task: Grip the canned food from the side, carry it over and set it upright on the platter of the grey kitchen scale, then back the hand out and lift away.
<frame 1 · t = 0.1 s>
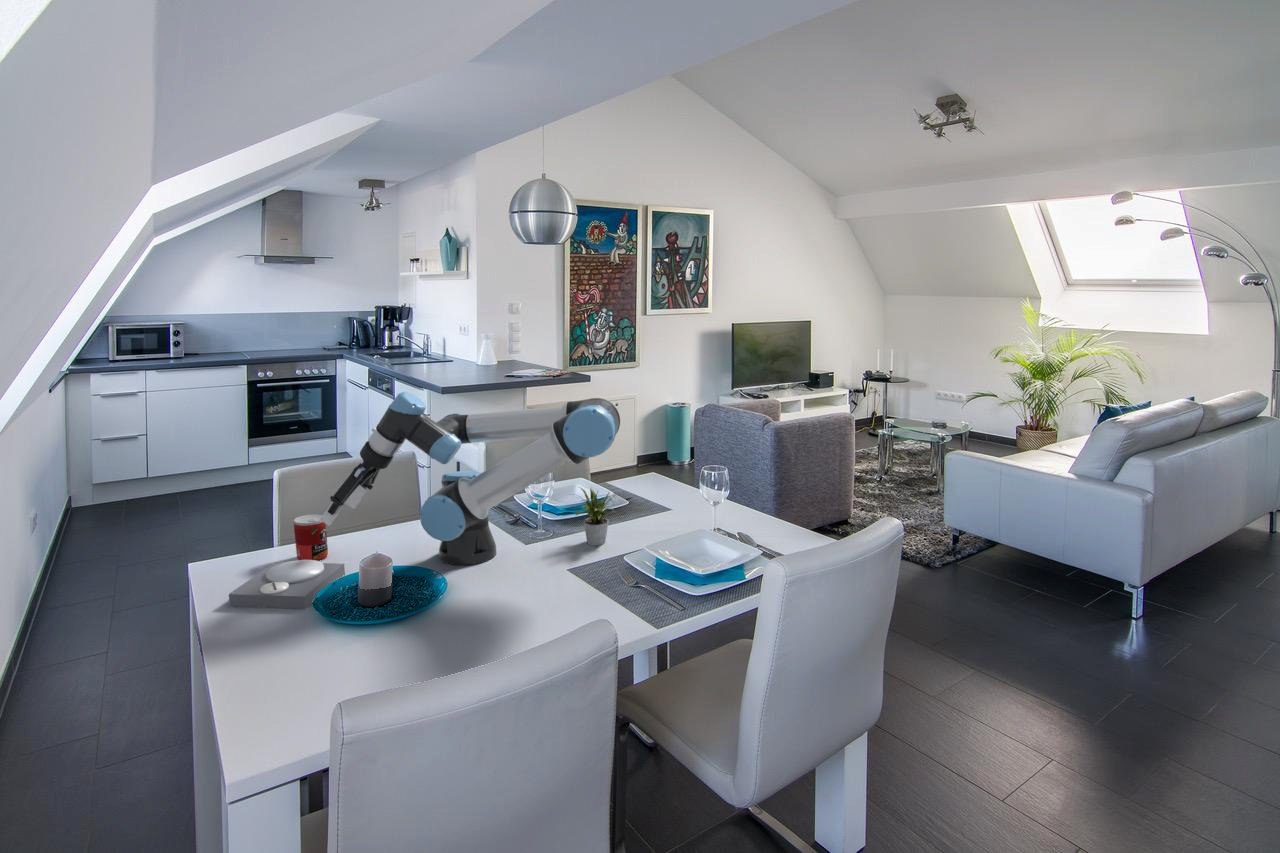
hand: (338, 514, 195), 15 cm above the table, tool tilted 35°, fingers open, 13 cm apart
canned food: (312, 558, 208), on the table
kitchen scale: (290, 589, 187), on the table
house plant: (591, 542, 220), on the table
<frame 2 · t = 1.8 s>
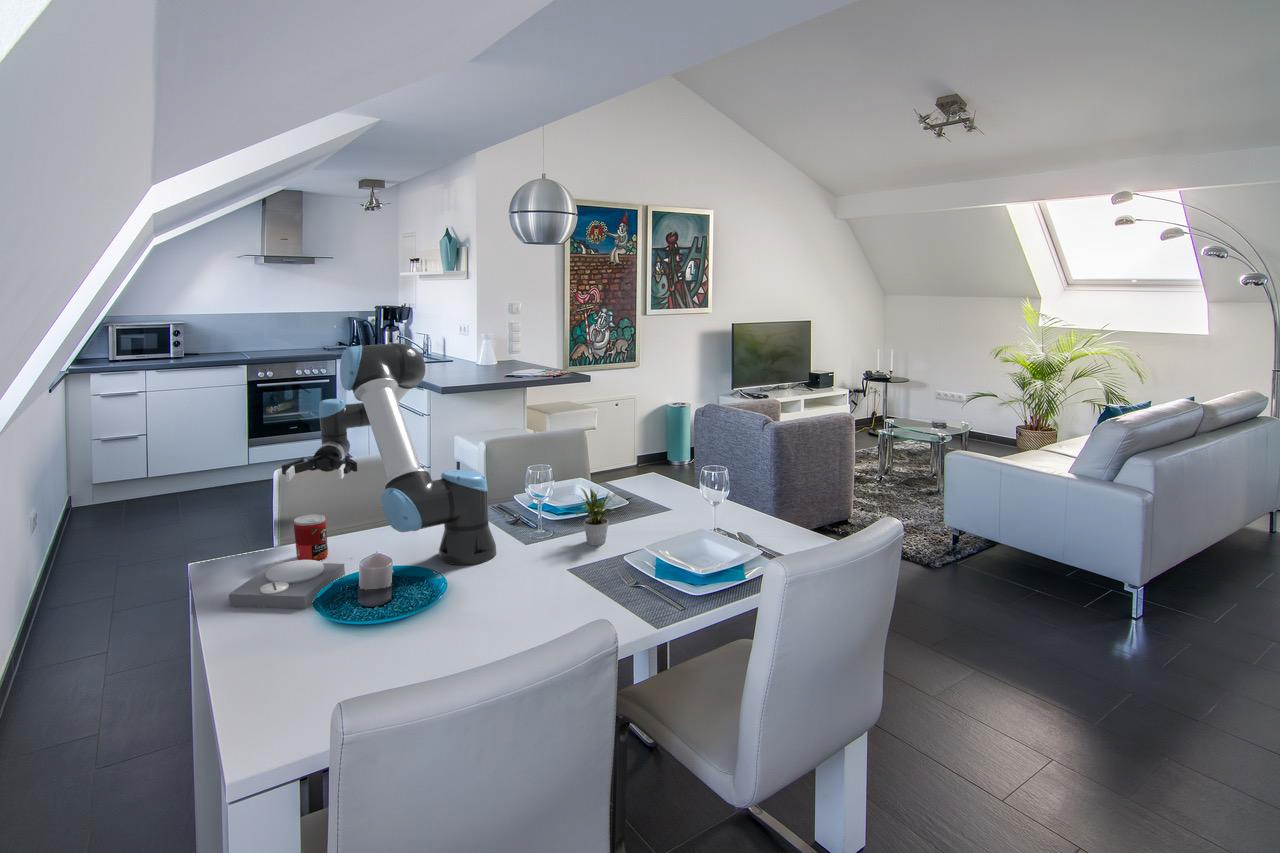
hand: (314, 475, 213), 20 cm above the table, tool horizontal, fingers open, 13 cm apart
nothing on the table moved.
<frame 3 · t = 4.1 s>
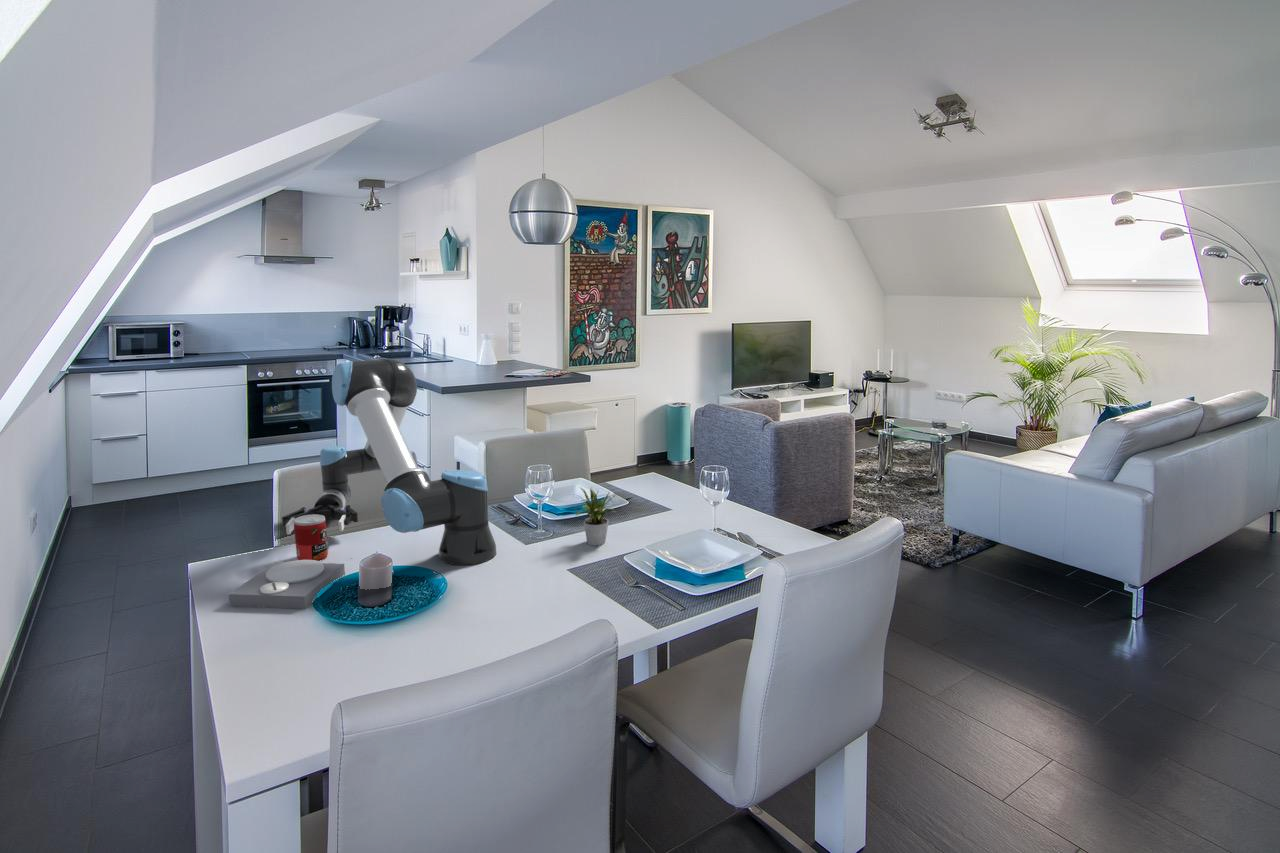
hand: (314, 528, 212), 6 cm above the table, tool horizontal, fingers open, 13 cm apart
nothing on the table moved.
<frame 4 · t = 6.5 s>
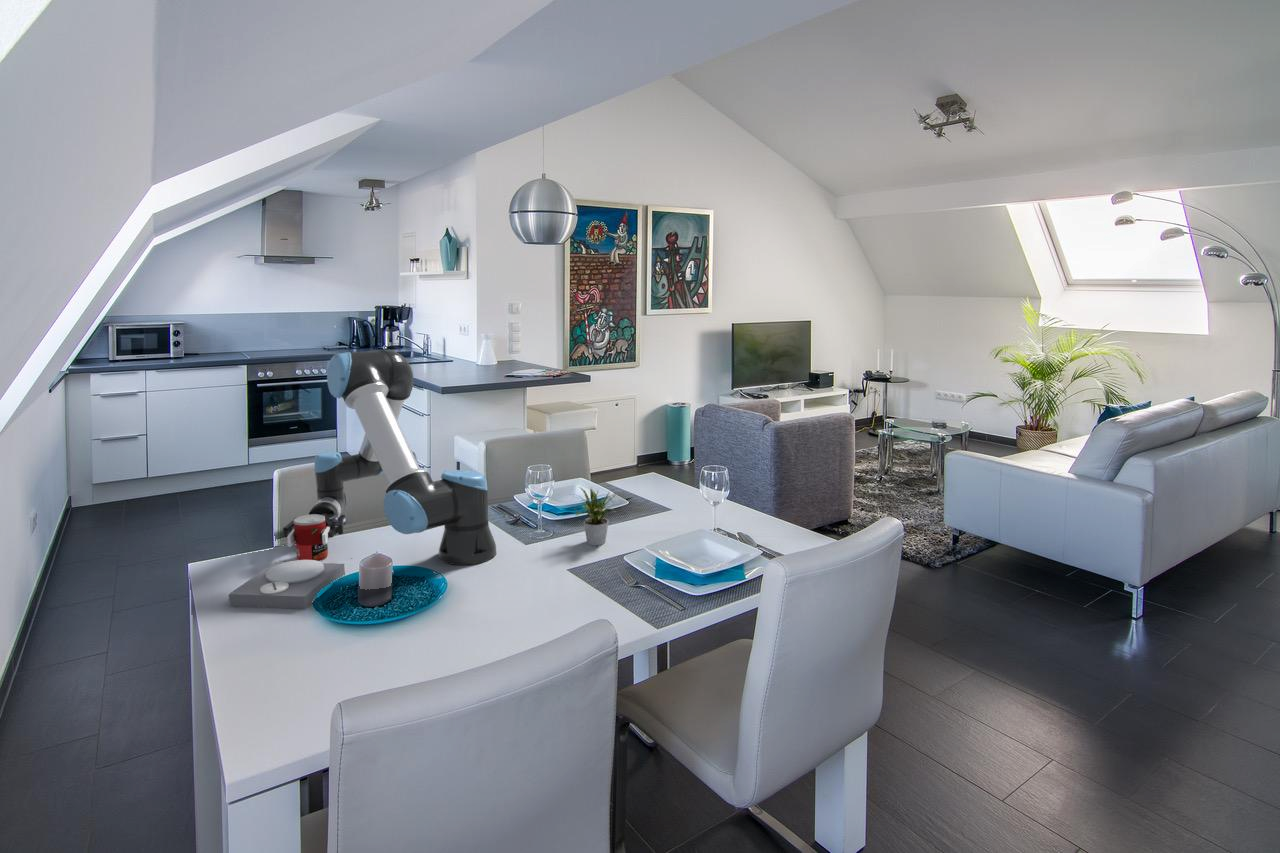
hand: (306, 540, 202), 7 cm above the table, tool horizontal, fingers closed on canned food, 8 cm apart
canned food: (312, 558, 208), on the table, touching gripper
everything else where it was.
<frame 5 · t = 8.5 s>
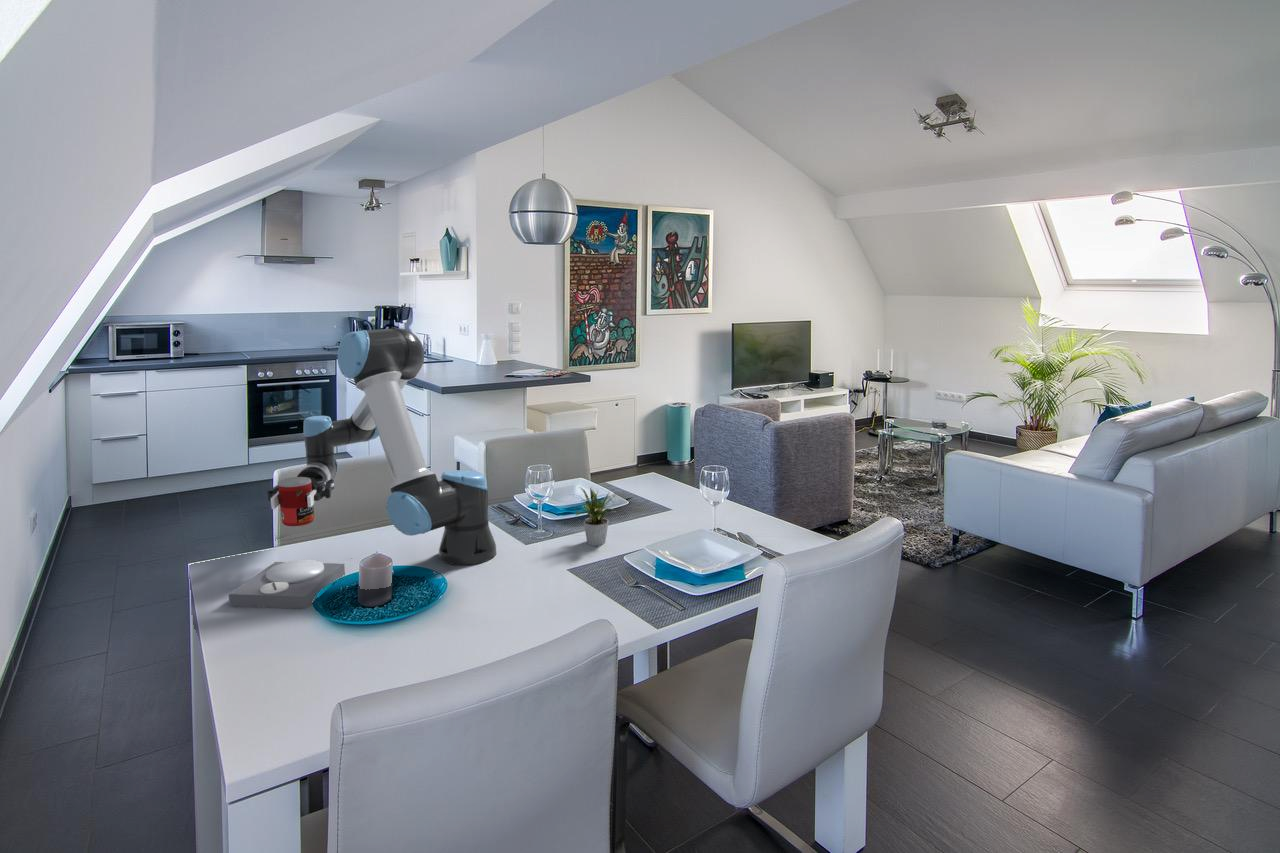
hand: (291, 502, 193), 19 cm above the table, tool horizontal, fingers closed on canned food, 8 cm apart
canned food: (298, 522, 199), point 12 cm above the table, touching gripper
everything else where it was.
when the fingers open (12 cm above the table, at t = 10.9 s): canned food drops 1 cm, resting on kitchen scale.
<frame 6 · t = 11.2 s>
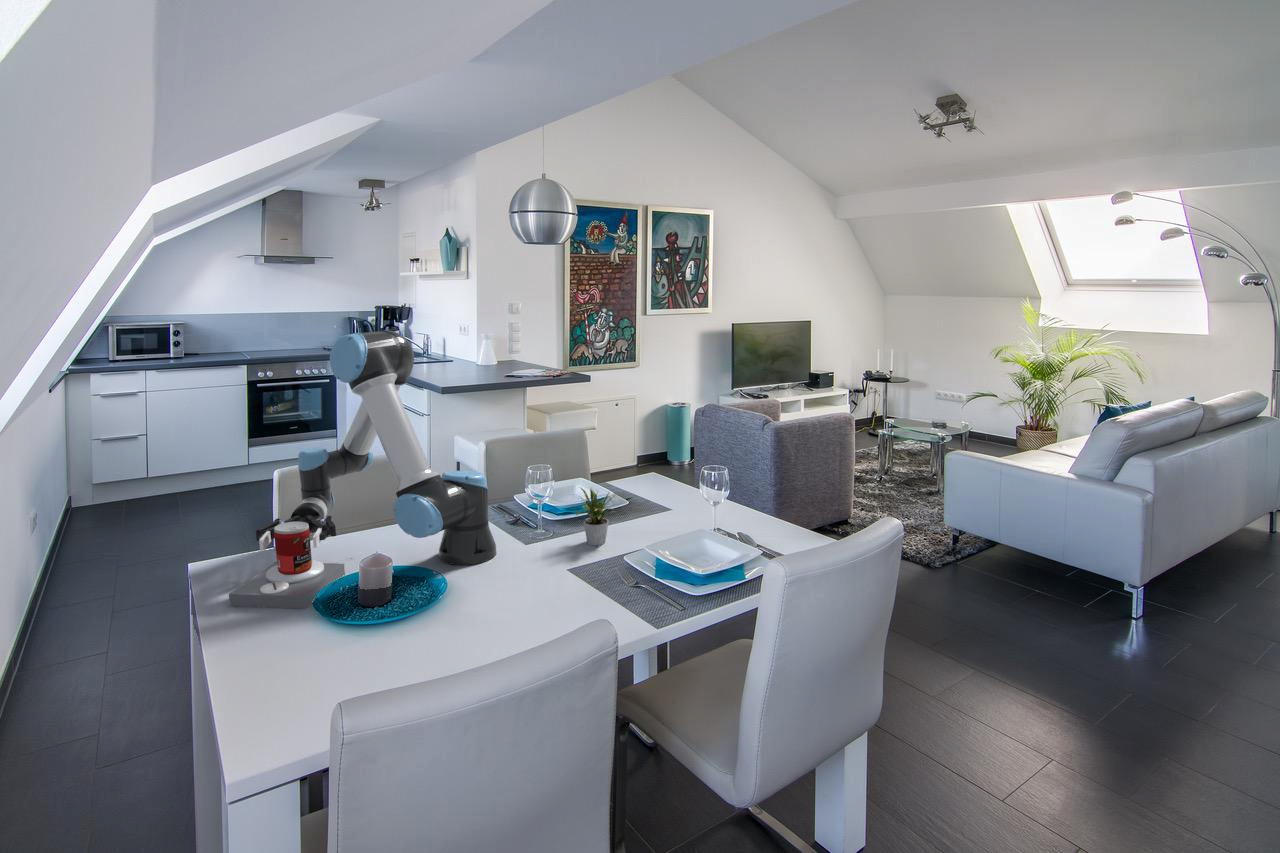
hand: (288, 543, 183), 12 cm above the table, tool horizontal, fingers open, 11 cm apart
canned food: (295, 570, 189), point 4 cm above the table, touching kitchen scale
everything else where it was.
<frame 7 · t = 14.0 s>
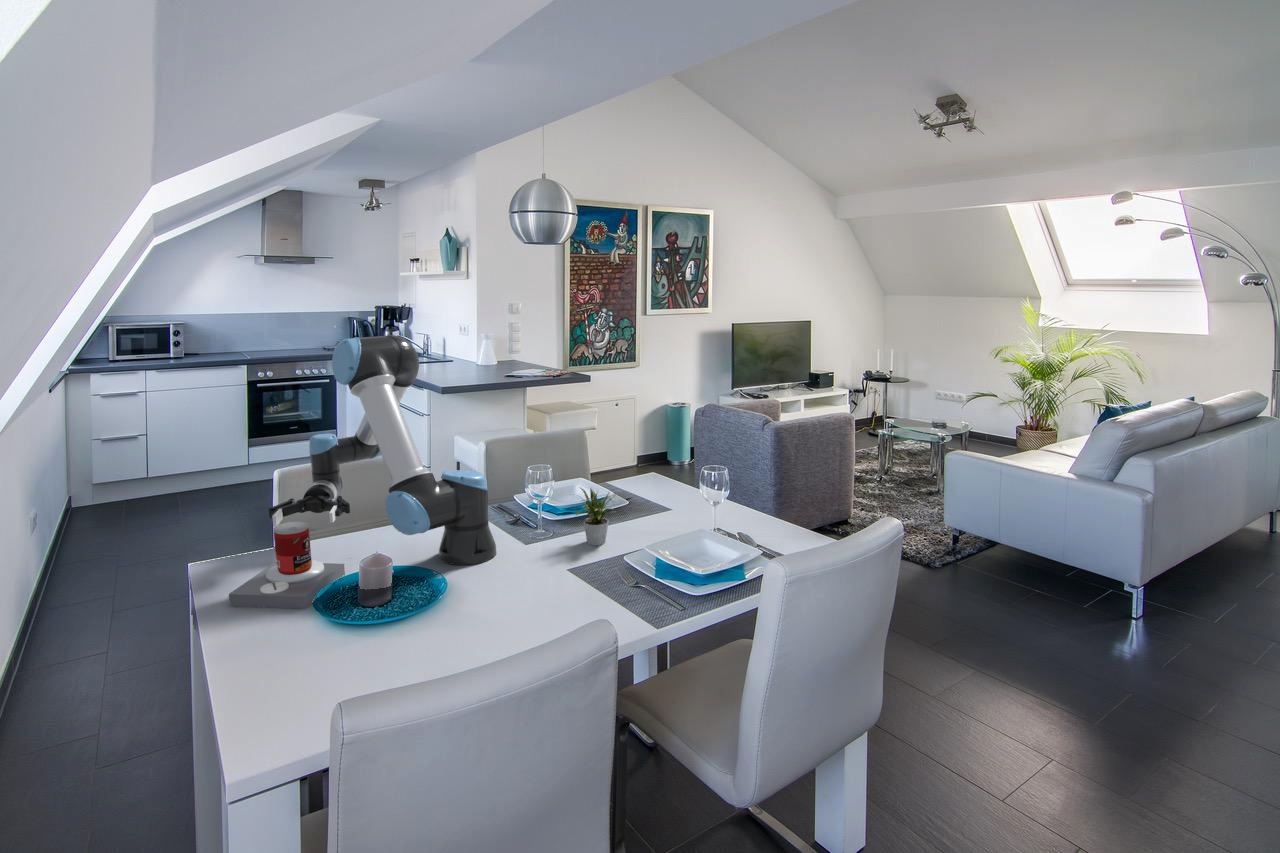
hand: (302, 519, 197), 13 cm above the table, tool horizontal, fingers open, 13 cm apart
nothing on the table moved.
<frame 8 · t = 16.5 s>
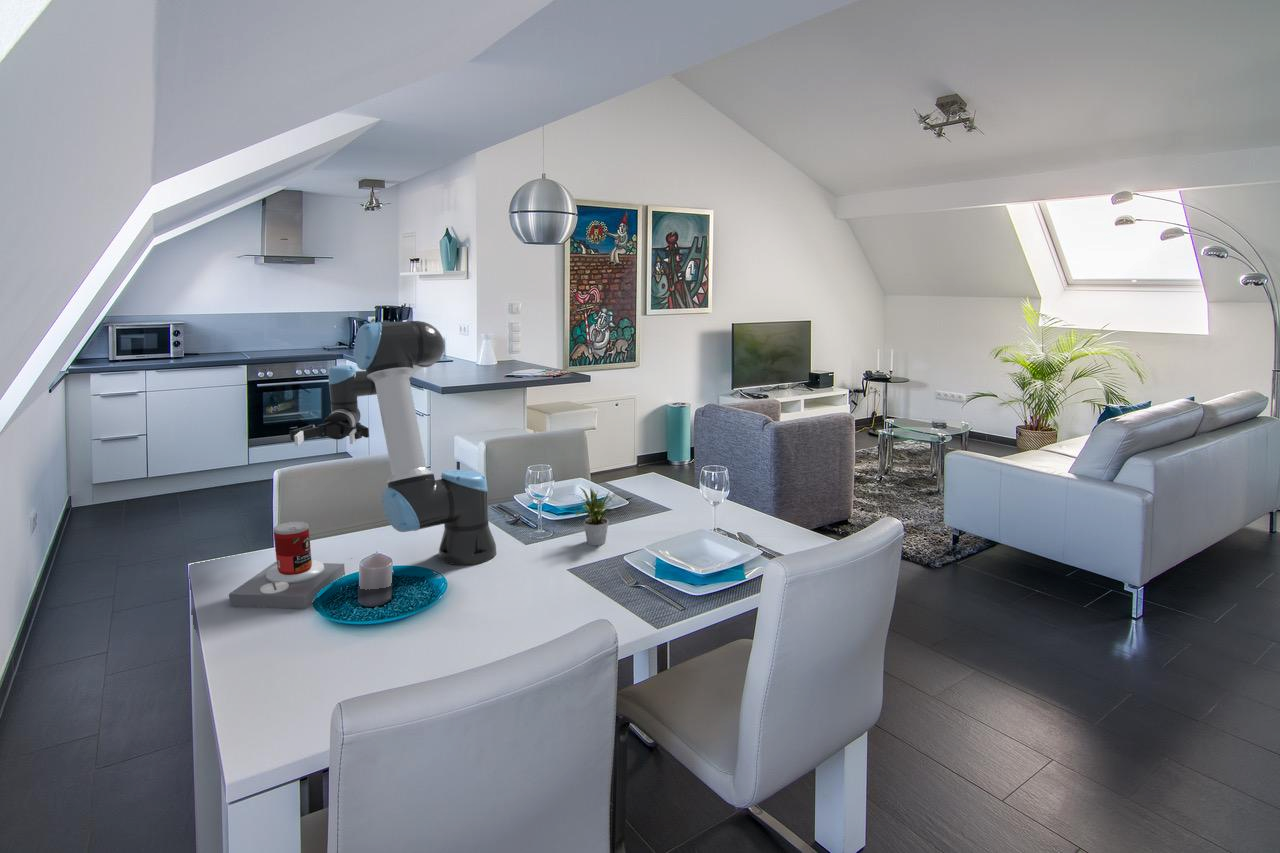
hand: (323, 440, 203), 32 cm above the table, tool horizontal, fingers open, 13 cm apart
nothing on the table moved.
at the end: canned food inside the target area on the kitchen scale (0.1 cm from its centre), point 3.8 cm above the kitchen scale's base; canned food tilted 0°; the gripper is holding nothing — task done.
